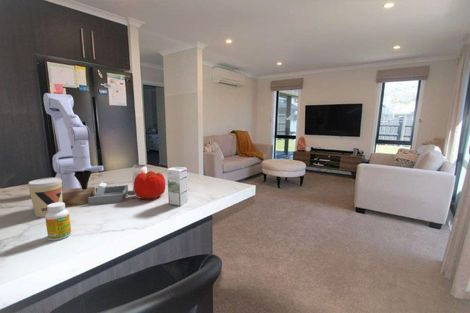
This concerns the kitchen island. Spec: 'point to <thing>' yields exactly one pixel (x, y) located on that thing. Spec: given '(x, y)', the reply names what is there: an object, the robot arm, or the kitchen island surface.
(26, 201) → the kitchen island surface
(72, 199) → the brown shallow box
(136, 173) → the can
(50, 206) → the supplement bottle
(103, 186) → the white block
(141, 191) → the tomato
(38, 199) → the coffee cup
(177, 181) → the syrup box
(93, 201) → the tray
